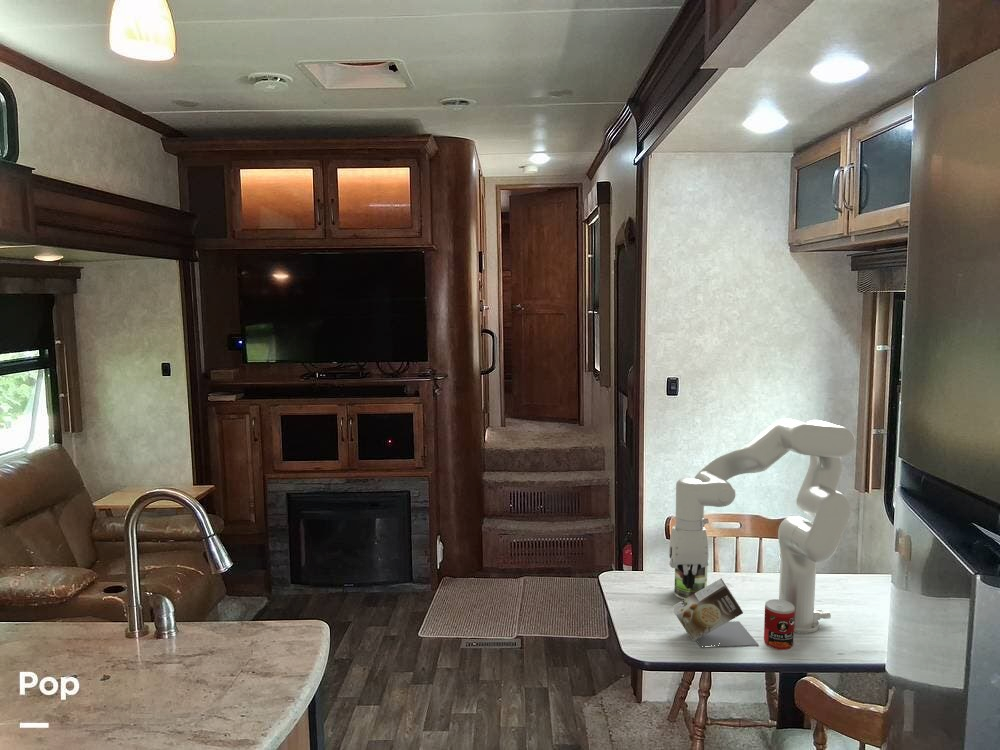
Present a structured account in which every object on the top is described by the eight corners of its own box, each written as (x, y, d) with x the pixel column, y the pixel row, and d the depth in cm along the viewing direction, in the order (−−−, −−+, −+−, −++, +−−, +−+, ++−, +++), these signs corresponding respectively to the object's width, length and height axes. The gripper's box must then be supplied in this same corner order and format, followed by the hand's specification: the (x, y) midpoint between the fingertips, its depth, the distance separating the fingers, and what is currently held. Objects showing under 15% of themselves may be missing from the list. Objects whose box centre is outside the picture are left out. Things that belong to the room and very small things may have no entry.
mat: (739, 622, 211) (739, 621, 211) (758, 645, 197) (758, 644, 197) (685, 624, 210) (685, 623, 210) (701, 647, 196) (701, 646, 196)
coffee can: (695, 604, 223) (696, 560, 221) (667, 594, 231) (668, 551, 229) (713, 594, 230) (714, 552, 228) (685, 585, 237) (686, 544, 236)
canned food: (767, 649, 195) (768, 610, 193) (760, 635, 203) (762, 598, 201) (796, 651, 194) (798, 612, 192) (789, 637, 202) (790, 599, 200)
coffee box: (675, 615, 199) (725, 586, 196) (671, 605, 205) (720, 576, 203) (693, 642, 199) (744, 613, 197) (689, 631, 205) (738, 603, 203)
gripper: (711, 518, 203) (710, 580, 205) (659, 519, 202) (658, 582, 205) (720, 527, 196) (719, 591, 198) (666, 528, 195) (665, 593, 197)
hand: (688, 586), depth 201 cm, fingers closed
